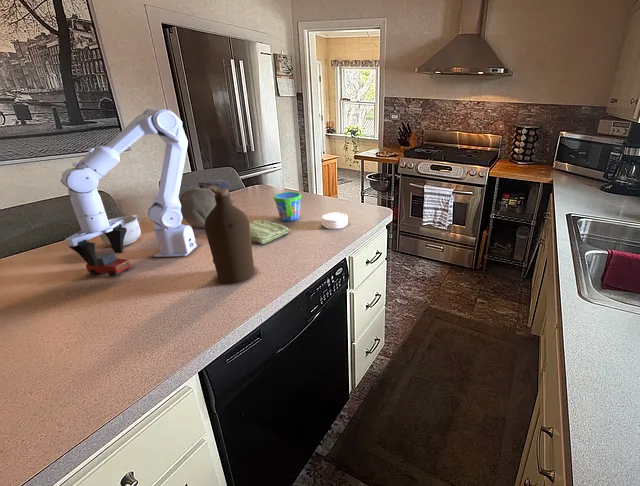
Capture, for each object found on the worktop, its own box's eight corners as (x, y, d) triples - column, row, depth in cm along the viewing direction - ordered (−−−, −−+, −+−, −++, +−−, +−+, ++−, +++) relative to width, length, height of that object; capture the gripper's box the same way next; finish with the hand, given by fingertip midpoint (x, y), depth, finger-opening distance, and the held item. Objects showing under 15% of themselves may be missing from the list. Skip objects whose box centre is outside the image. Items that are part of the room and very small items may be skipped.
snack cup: (279, 213, 141) (276, 190, 137) (304, 211, 143) (302, 189, 139) (274, 226, 126) (270, 201, 123) (302, 224, 129) (299, 200, 125)
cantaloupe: (232, 221, 131) (226, 185, 126) (207, 234, 118) (199, 195, 113) (201, 218, 133) (194, 183, 128) (173, 231, 120) (163, 192, 115)
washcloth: (262, 246, 110) (261, 237, 108) (230, 235, 118) (228, 227, 117) (292, 233, 120) (291, 225, 119) (261, 224, 128) (260, 216, 127)
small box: (202, 204, 150) (197, 182, 147) (211, 200, 156) (207, 178, 153) (222, 205, 149) (218, 183, 145) (231, 201, 155) (228, 180, 151)
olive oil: (265, 270, 95) (252, 187, 86) (235, 288, 86) (218, 197, 77) (237, 263, 99) (222, 183, 90) (206, 280, 89) (186, 192, 80)
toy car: (88, 274, 91) (82, 258, 89) (104, 266, 95) (98, 251, 94) (117, 277, 90) (112, 260, 88) (132, 268, 95) (127, 252, 93)
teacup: (120, 251, 105) (113, 228, 102) (93, 247, 107) (85, 225, 104) (158, 234, 118) (153, 213, 115) (134, 231, 120) (128, 211, 117)
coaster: (336, 231, 123) (335, 222, 122) (317, 225, 128) (316, 217, 126) (353, 223, 131) (352, 215, 130) (334, 218, 136) (334, 210, 134)
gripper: (76, 223, 79) (94, 272, 84) (128, 205, 93) (141, 248, 98) (50, 222, 80) (69, 270, 85) (106, 204, 93) (120, 246, 98)
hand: (106, 258), depth 91 cm, fingers open, 7 cm apart
